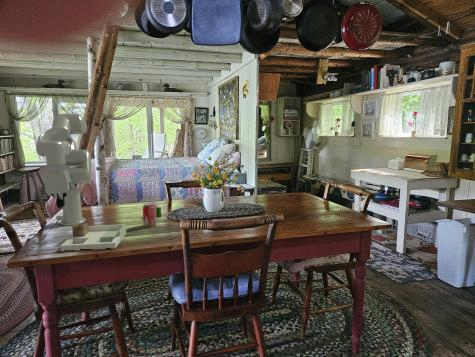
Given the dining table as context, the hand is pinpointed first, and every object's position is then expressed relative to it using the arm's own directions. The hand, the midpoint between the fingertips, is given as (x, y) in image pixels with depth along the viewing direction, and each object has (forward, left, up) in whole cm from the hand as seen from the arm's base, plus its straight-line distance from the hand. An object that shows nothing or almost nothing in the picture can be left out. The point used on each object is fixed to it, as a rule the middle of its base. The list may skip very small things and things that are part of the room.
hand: (60, 207), depth 143 cm
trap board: (+15, -4, -17) cm, 23 cm away
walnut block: (+7, 0, -14) cm, 16 cm away
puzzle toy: (+37, +35, -17) cm, 54 cm away
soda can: (+37, +18, -17) cm, 44 cm away
